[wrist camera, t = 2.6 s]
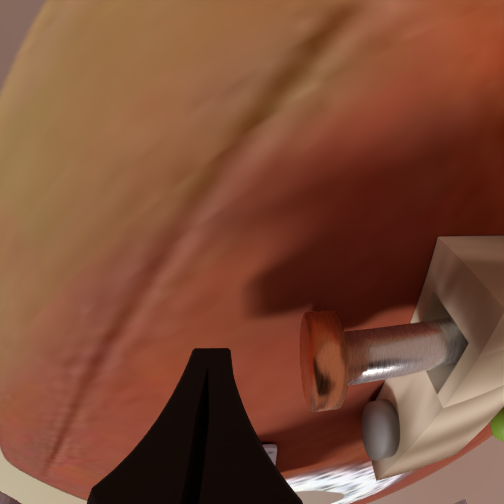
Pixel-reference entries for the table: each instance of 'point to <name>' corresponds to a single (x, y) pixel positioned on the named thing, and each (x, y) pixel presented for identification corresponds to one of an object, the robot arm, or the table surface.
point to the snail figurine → (498, 425)
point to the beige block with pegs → (450, 376)
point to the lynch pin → (369, 354)
